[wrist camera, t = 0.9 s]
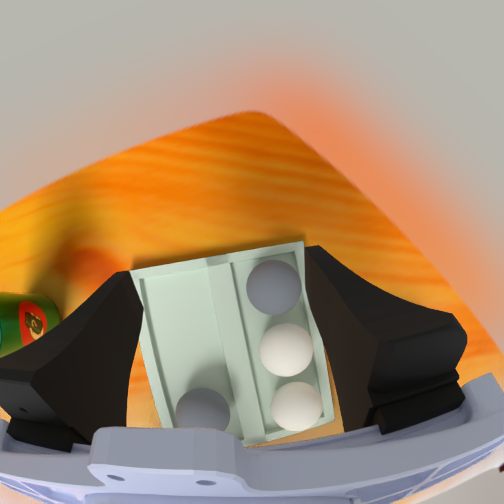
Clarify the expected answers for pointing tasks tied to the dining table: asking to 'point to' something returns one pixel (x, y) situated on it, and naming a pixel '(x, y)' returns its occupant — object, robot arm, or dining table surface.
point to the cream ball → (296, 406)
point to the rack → (222, 339)
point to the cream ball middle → (285, 349)
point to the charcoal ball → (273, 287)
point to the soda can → (24, 319)
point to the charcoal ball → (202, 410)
